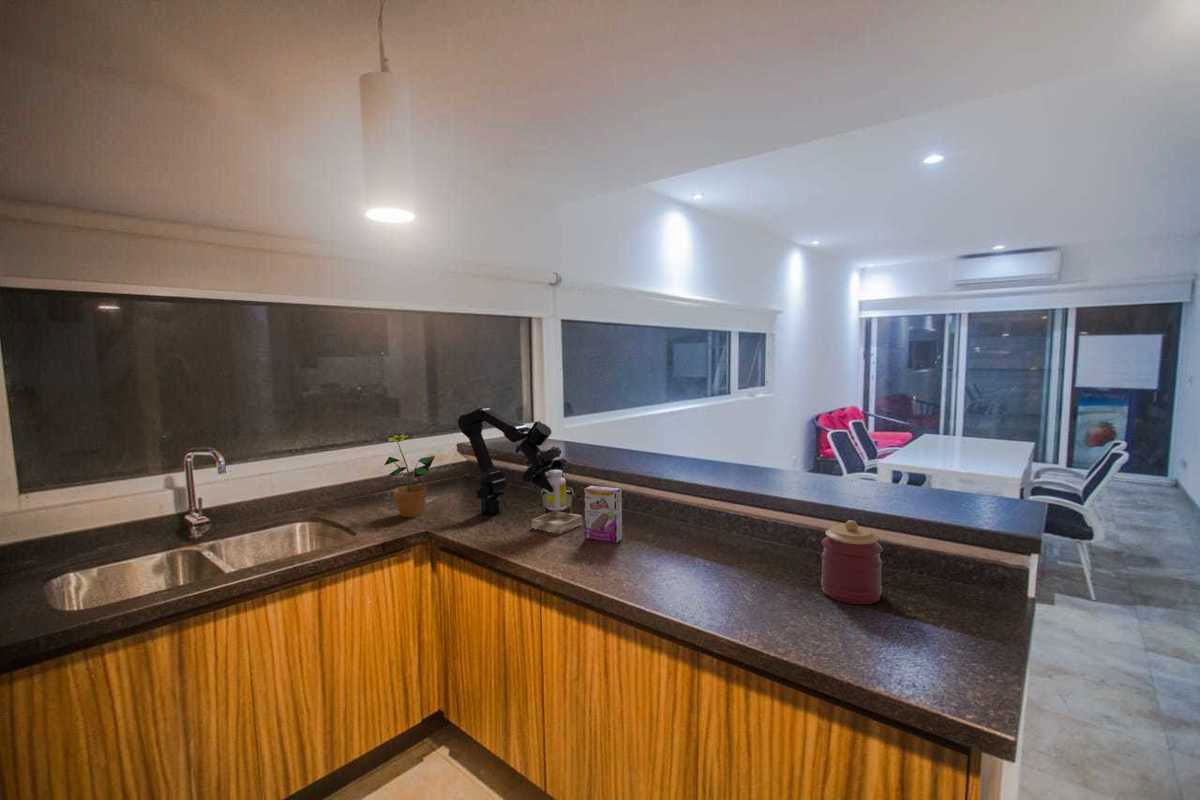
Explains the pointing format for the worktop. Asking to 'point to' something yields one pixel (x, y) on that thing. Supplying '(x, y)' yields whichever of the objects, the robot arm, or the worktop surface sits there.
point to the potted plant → (410, 495)
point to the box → (557, 522)
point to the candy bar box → (603, 514)
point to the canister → (851, 564)
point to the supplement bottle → (556, 491)
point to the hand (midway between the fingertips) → (559, 489)
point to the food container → (568, 501)
